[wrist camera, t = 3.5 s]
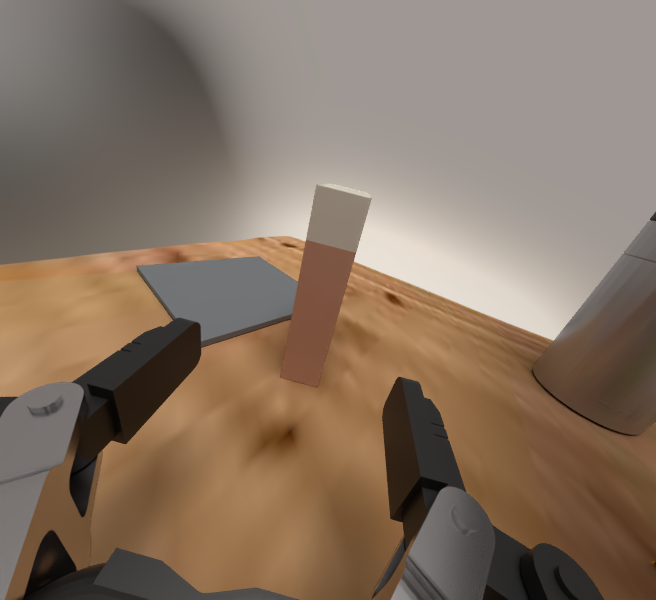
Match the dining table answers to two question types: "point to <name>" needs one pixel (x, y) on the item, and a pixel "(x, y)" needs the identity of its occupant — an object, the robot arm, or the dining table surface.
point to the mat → (223, 294)
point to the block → (323, 278)
